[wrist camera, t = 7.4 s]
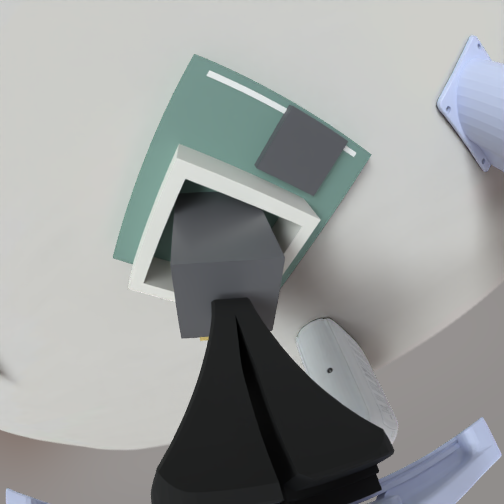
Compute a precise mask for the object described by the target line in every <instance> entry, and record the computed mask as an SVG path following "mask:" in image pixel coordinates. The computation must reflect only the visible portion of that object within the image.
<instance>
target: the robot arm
mask: <svg viewBox="0 0 504 504" xmlns="http://www.w3.org/2000/svg"><path fill="white" fill-rule="evenodd" d="M437 106H438V109H439V110H440V111H441V113H442V114H443V115H444V116H445V118H446V119H447V120H448V121H449V123H450V124H451V125H452V127H453V128H454V129H455V131H456V132H457V133H458V135H459V136H460V138H461V139H462V140H463V142H464V143H465V145H466V146H467V148H468V149H469V150H470V152H471V153H472V155H473V157H474V158H475V160H476V161H477V163H478V164H479V166H480V168H481V169H482V170H483V171H484V172H487V171H488V170H489V168H490V166H491V165H493V166H494V167H496V168H498V169H499V170H501V171H503V172H504V64H502V63H498V62H494V61H492V60H491V59H490V57H489V55H488V54H487V52H486V50H485V49H484V47H483V46H482V44H481V43H480V41H479V40H478V38H477V37H476V36H470V37H469V40H468V42H467V44H466V46H465V48H464V50H463V52H462V54H461V56H460V59H459V61H458V63H457V65H456V67H455V69H454V71H453V73H452V74H451V76H450V78H449V80H448V82H447V84H446V86H445V88H444V90H443V92H442V93H441V95H440V97H439V99H438V101H437ZM446 108H447V111H446ZM211 316H212V317H211V326H210V333H209V338H208V343H207V348H206V352H205V356H204V360H203V364H202V367H201V371H200V374H199V377H198V380H197V383H196V386H195V389H194V392H193V395H192V397H191V400H190V402H189V405H188V407H187V410H186V412H185V415H184V417H183V419H182V421H181V423H180V426H179V428H178V430H177V432H176V434H175V436H174V438H173V440H172V442H171V444H170V446H169V448H168V450H167V451H166V453H165V455H164V457H163V459H162V460H161V462H160V464H159V466H158V467H157V470H156V474H155V477H154V481H153V485H152V489H151V502H152V504H358V503H361V502H363V501H366V500H368V499H370V498H373V497H375V496H377V495H378V496H377V499H376V500H375V501H373V502H370V503H367V504H455V503H456V502H457V501H458V500H459V499H460V498H461V497H462V496H463V495H464V494H465V493H466V492H467V491H468V490H469V489H470V488H471V487H472V486H473V485H474V484H475V483H476V482H477V480H478V479H479V478H480V477H481V476H482V475H483V474H484V473H485V472H486V471H487V470H488V469H489V468H490V467H491V466H492V465H493V464H494V463H495V462H496V461H497V460H498V459H499V458H500V457H501V452H500V450H499V448H498V446H497V444H496V442H495V440H494V438H493V436H492V434H491V432H490V430H489V428H488V426H487V424H486V422H485V420H484V418H483V417H481V418H480V419H478V420H477V421H476V422H474V423H473V424H472V425H470V426H469V427H468V428H466V429H465V430H463V431H462V432H461V433H459V434H458V435H457V436H455V437H454V438H452V439H451V440H449V441H448V442H446V443H445V444H443V445H441V446H440V447H438V448H437V449H436V450H434V451H433V452H431V453H429V454H427V455H426V456H424V457H422V458H421V459H419V460H417V461H415V462H413V463H411V464H409V465H408V466H406V467H404V468H402V469H400V470H398V471H396V472H394V473H392V474H390V475H387V476H386V477H383V478H381V479H379V480H378V478H377V475H376V473H378V472H379V469H378V467H377V464H378V463H380V462H381V461H383V460H385V459H386V458H388V457H390V456H391V455H392V454H393V453H394V449H393V446H392V444H391V442H390V440H389V438H388V436H387V435H386V433H385V431H384V430H383V429H382V428H380V427H378V426H377V425H375V424H373V423H371V422H369V421H368V420H366V419H364V418H363V417H361V416H359V415H358V414H356V413H355V412H353V411H352V410H350V409H349V408H347V407H346V406H344V405H343V404H342V403H340V402H339V401H338V400H337V399H335V398H334V397H333V396H331V395H330V394H329V393H327V392H326V391H325V390H324V389H323V388H321V387H320V386H319V385H318V384H317V383H316V382H315V381H314V380H312V379H311V378H310V377H309V376H308V375H307V374H306V373H305V372H304V371H303V370H302V369H301V368H300V367H299V366H298V365H297V364H296V363H295V361H294V360H293V359H292V358H291V357H290V356H289V355H288V354H287V352H286V351H285V350H284V349H283V348H282V346H281V345H280V344H279V343H278V341H277V340H276V339H275V337H274V336H273V335H272V333H271V332H270V331H269V329H268V328H267V326H266V325H265V324H264V322H263V321H262V319H261V318H260V316H259V314H258V313H257V311H256V310H255V308H254V306H253V304H252V303H251V301H250V299H249V298H247V297H245V298H231V299H216V300H213V301H212V302H211ZM6 504H50V503H47V502H44V501H41V500H38V499H35V498H32V497H29V496H27V495H24V494H21V493H19V492H16V491H14V490H11V489H9V488H7V489H6Z"/></svg>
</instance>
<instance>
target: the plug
mask: <svg viewBox="0 0 504 504" xmlns="http://www.w3.org/2000/svg"><path fill="white" fill-rule="evenodd" d="M284 263H285V256H284V254H283V252H282V250H281V248H280V246H279V244H278V242H277V240H276V237H275V235H274V233H273V231H272V229H271V227H270V225H269V223H268V221H267V219H266V217H265V215H264V213H263V211H262V209H260V208H258V207H255V206H253V205H251V204H248V203H246V202H243V201H241V200H238V199H236V198H233V197H231V196H228V195H226V194H223V193H221V192H195V193H179V194H178V196H177V199H176V201H175V211H174V222H173V234H172V247H171V262H170V266H171V273H172V281H173V288H174V295H175V302H176V308H177V315H178V321H179V327H180V332H181V338H197V337H200V341H203V340H208V338H209V333H210V326H211V317H212V316H211V302H212V301H213V300H216V299H231V298H245V297H247V298H249V299H250V301H251V303H252V304H253V306H254V308H255V310H256V311H257V313H258V314H259V316H260V318H261V319H262V321H263V322H264V324H265V325H266V326H267V328H268V329H269V331H272V330H273V324H274V319H275V314H276V308H277V303H278V297H279V292H280V286H281V280H282V274H283V268H284Z"/></svg>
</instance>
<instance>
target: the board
mask: <svg viewBox="0 0 504 504" xmlns="http://www.w3.org/2000/svg"><path fill="white" fill-rule="evenodd" d="M370 156H371V154H370V153H369V152H367V151H366V150H365V149H363V148H362V147H360V146H359V145H358V144H356V143H355V142H354V141H352V140H351V139H349V138H348V137H346V136H345V135H344V134H342V133H341V132H339V131H338V130H336V129H335V128H333V127H332V126H330V125H329V124H327V123H326V122H324V121H323V120H321V119H320V118H318V117H316V116H315V115H313V114H312V113H310V112H308V111H307V110H305V109H303V108H302V107H300V106H298V105H297V104H295V103H293V102H292V101H290V100H288V99H286V98H285V97H283V96H281V95H279V94H278V93H276V92H274V91H272V90H270V89H268V88H266V87H265V86H263V85H261V84H259V83H257V82H255V81H253V80H251V79H249V78H247V77H245V76H243V75H241V74H239V73H237V72H235V71H232V70H230V69H228V68H226V67H224V66H222V65H219V64H217V63H215V62H212V61H210V60H208V59H205V58H203V57H201V56H198V55H196V54H194V56H193V57H192V59H191V61H190V63H189V65H188V66H187V68H186V70H185V72H184V74H183V76H182V78H181V80H180V82H179V83H178V85H177V87H176V89H175V91H174V93H173V95H172V98H171V100H170V102H169V104H168V106H167V108H166V110H165V112H164V114H163V117H162V119H161V121H160V123H159V126H158V128H157V130H156V132H155V135H154V137H153V140H152V142H151V144H150V147H149V149H148V152H147V154H146V157H145V159H144V162H143V164H142V167H141V170H140V172H139V175H138V178H137V181H136V183H135V186H134V189H133V192H132V195H131V198H130V201H129V204H128V207H127V210H126V213H125V216H124V220H123V223H122V226H121V230H120V233H119V236H118V240H117V244H116V247H115V251H114V255H113V258H114V259H118V260H121V261H124V262H127V263H130V264H133V266H132V271H131V276H130V281H129V286H128V289H130V290H133V291H137V292H140V293H144V294H147V295H151V296H154V297H158V298H161V299H165V300H169V301H173V302H175V295H174V288H173V281H172V273H171V266H170V262H171V247H172V234H173V222H174V211H175V201H176V199H177V196H178V194H179V193H195V192H221V193H223V194H226V195H228V196H231V197H233V198H236V199H238V200H241V201H243V202H246V203H248V204H251V205H253V206H255V207H258V208H260V209H262V211H263V213H264V215H265V217H266V219H267V221H268V223H269V225H270V227H271V229H272V231H273V233H274V235H275V237H276V240H277V242H278V244H279V246H280V248H281V250H282V252H283V254H284V256H285V263H284V268H283V274H282V280H281V286H280V288H281V287H282V286H283V284H284V283H285V281H286V280H287V279H288V277H289V276H290V274H291V273H292V272H293V270H294V269H295V267H296V266H297V265H298V263H299V262H300V260H301V259H302V258H303V256H304V255H305V253H306V252H307V251H308V249H309V248H310V246H311V245H312V243H313V242H314V241H315V239H316V238H317V236H318V235H319V233H320V232H321V230H322V229H323V227H324V226H325V225H326V223H327V222H328V220H329V219H330V217H331V216H332V214H333V213H334V211H335V210H336V208H337V207H338V205H339V204H340V202H341V201H342V199H343V198H344V196H345V195H346V193H347V192H348V190H349V189H350V187H351V186H352V184H353V183H354V181H355V180H356V178H357V177H358V175H359V173H360V172H361V170H362V169H363V167H364V166H365V164H366V163H367V161H368V159H369V158H370Z"/></svg>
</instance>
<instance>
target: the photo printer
mask: <svg viewBox="0 0 504 504" xmlns="http://www.w3.org/2000/svg"><path fill="white" fill-rule="evenodd" d="M296 344H297V348H298V351H299V353H300V356H301V359H302V362H303V365H304V368H305V371H306V373H307V375H308V376H309V377H310V378H311V379H312V380H314V381H315V382H316V383H317V384H318V385H319V386H320V387H321V388H323V389H324V390H325V391H326V392H327V393H329V394H330V395H331V396H333V397H334V398H335V399H337V400H338V401H339V402H340V403H342V404H343V405H344V406H346V407H347V408H349V409H350V410H352V411H353V412H355V413H356V414H358V415H359V416H361V417H363V418H364V419H366V420H368V421H369V422H371V423H373V424H375V425H377V426H378V427H380V428H382V429H383V430H384V431H385V433H386V435H387V436H388V438H389V440H390V442H391V444H392V443H393V442H394V440H395V438H396V436H397V432H398V421H397V419H396V417H395V415H394V413H393V410H392V408H391V406H390V404H389V402H388V400H387V398H386V396H385V394H384V392H383V390H382V388H381V386H380V384H379V382H378V380H377V378H376V376H375V374H374V372H373V370H372V368H371V366H370V364H369V362H368V360H367V358H366V356H365V354H364V352H363V350H362V349H361V348H360V346H359V345H358V344H357V342H355V341H354V340H353V339H352V338H351V336H350V335H349V334H348V333H346V332H345V331H344V330H343V329H342V328H341V327H340V326H339V325H338V324H337V323H335V322H334V321H333V320H331V319H329V318H326V319H322V318H321V319H317V320H314V321H312V322H310V323H309V324H307V325H306V326H304V327H303V328H302V329H301V330H300V332H299V333H298V337H297V338H296Z"/></svg>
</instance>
